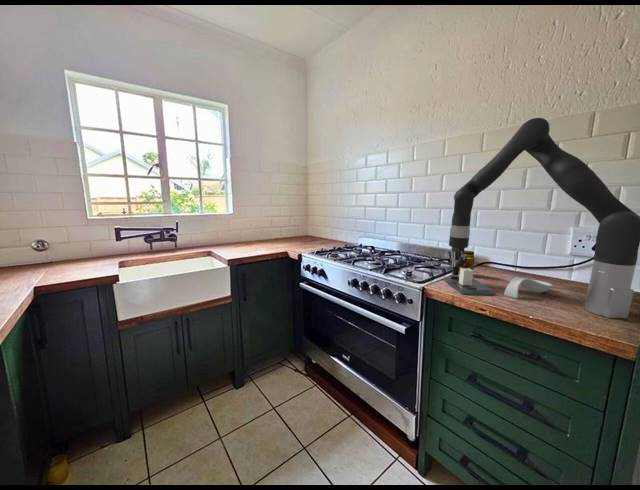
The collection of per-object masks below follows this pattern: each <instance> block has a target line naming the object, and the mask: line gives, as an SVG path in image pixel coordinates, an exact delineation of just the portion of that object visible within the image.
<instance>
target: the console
mask: <svg viewBox="0 0 640 490" xmlns="http://www.w3.org/2000/svg"><path fill="white" fill-rule="evenodd" d="M444 283H446V284H447V285H448V286H450V287H451V288H453V289H454V290H455V291H456V292H458V293H459V294H460V295H466V296H467V295H469V296H470V295H471V296H472V295H473V296H476V295H478V296H494V292H495V291H494V289H492V288H490V287H489V286H487V285H486V284H483V283H482V282H480V281H478V280H477V279H476V278H473V279H472V286H470V285H461V284H460V283H459V276H458V275H450V277H446V276H445V277H444Z"/></svg>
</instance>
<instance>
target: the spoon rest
mask: <svg viewBox="0 0 640 490" xmlns="http://www.w3.org/2000/svg"><path fill="white" fill-rule="evenodd" d="M553 286H554V284H553V283H549V282H547V281H543V280H542V281H541V280H537V279H531V278H525V277H521V276H515V277H514V278H512V279H511V281H510V282H509V283H508V285H507V286H506V288H505V290H504V292H503V294H504V296H506V297H509V298H513V299H519V290H520V289H519V288H520V287H521V288H522V289H523V290H524V291H526V292H529V293H534V294H535V293H536V294H542V293H544V292H547V291H549V290H551V289H552V288H553Z"/></svg>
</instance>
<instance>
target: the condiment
mask: <svg viewBox="0 0 640 490" xmlns="http://www.w3.org/2000/svg"><path fill="white" fill-rule="evenodd" d="M464 251H465V253H464V256H465V257H467V260H466V262H465V263H464V265H463V266H462V267H459V275H457V276H460V268H469V269H471V270H473V271H474V266H475V257H474V256H475V251H473V250H464ZM473 279H476V276H475V275H474V274H473Z"/></svg>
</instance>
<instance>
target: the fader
mask: <svg viewBox="0 0 640 490" xmlns="http://www.w3.org/2000/svg"><path fill="white" fill-rule="evenodd" d="M473 275H474V269H473V270H471V269H469V268H460V276H459V283H460V284H461V285H470V286H472V279H474V278H473Z"/></svg>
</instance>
